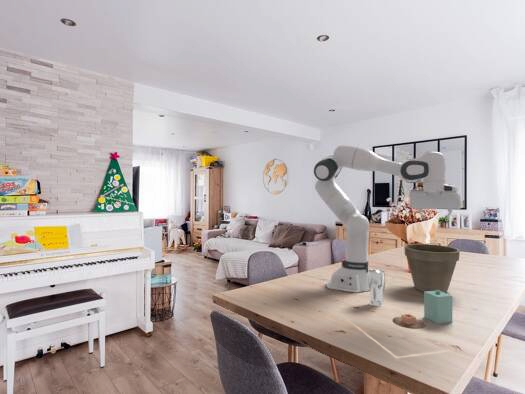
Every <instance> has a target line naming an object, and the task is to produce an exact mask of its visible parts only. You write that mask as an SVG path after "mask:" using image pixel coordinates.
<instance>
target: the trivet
mask: <svg viewBox="0 0 525 394" xmlns="http://www.w3.org/2000/svg"><path fill="white" fill-rule="evenodd" d="M392 322H393V324H395V325H396V326H399V327H401V328H406V329H409V330H410V329H412V330H420V329H423V328H425V327H426V324H425V322H423V321H422V320H420V319H417V318H416V324H409V325H407V324H406V323H404V322H402V316H395V317H393V318H392Z"/></svg>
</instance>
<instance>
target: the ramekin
mask: <svg viewBox="0 0 525 394" xmlns="http://www.w3.org/2000/svg"><path fill="white" fill-rule="evenodd" d="M401 317H402V322H404V323H406V324H407V325H409V324H416V319H417V318H416V316H414V315H413V314H410V313H405V314H401Z"/></svg>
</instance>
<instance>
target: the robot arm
mask: <svg viewBox="0 0 525 394" xmlns="http://www.w3.org/2000/svg"><path fill="white" fill-rule="evenodd" d="M446 167H447V166H446V159H445V155H444V154H443V153H441V152H439V151H426V152H424V153H423V154H421V155H419V156H417V157H416V158H413V159H410V160H407V161H405V162H404V163H403V162H402V163H401V162H397V161H393V160H389V159H385V158H383V157H381V156H379V155H378V154H377V153H376V152H373V151H371V150H369V149H367V148H365V147H359V146H355V145H338V146H337V147H336V148H335V149H334V151H333V154H332V155H329V156H326V157H323V158H322V159H321V160H320V161H318V162H317V163H316V164H315V165H314V168H313V175H314V177H315V178H316V179H317V180H316V182H315V184H314V189H315V191H316V192H317V194H318V196H319V197H320V198H321V200H322V201H323V202H324V203H325V205H326V206H327V207H328V208H329V210H330V211H331V212H332V213H333V214H334V216H336V217H337V219H338V221H339V222H340V223H341V224H342V225H343V226H344V227H345V229H346V231H345V232H346V234H345V235H346V236H345V258H343V259H341V266H340V267H339V268H338V269H337V270H335V271H333V273H332V274H331V278H330V280H329V281H326V288H327V289H331V290H336V291H344V292H349V293H361V292H368V291H370V290H369V284H368V274H369V270H370V266H369V261H368V260H369V259H368V257H369V256H368V252H369V251H368V249H369V248H368V246H369V237H370V235H369V234H370V221H369V219H368V217H367V216H365V215H363V214H362V213H361V212H360V211H359V210H358V208H357V207H356V205H355V204H354V203H353V202H352V200H351V199H350V198H349V197H348V195H347V194H346V193H345V192H344V191H343V189H341V187H340V186H339V185H338V183H337V182H336V180H335V179H336V178H337V177H338V176H339V174H340V172H341V171H342V168H345V169H346V168H347V169H351V170H355V171H362V172H364V171H365V172H379V173H380V172H381V173H385V174H389V175H393V176H397V177H399V178H401V179H402V180H403V181H404V182H406V183H410V184H415V183H419V182H420V181H422V187H421V188H413V189H411V190H410V191H409V198H410V199H409V208H410V209H411V210H414V209H415V210H416V209H417V211H418V213H419V215H420V219H421V220H426V217H427V216H426V214H424V213H423V211H424V210H427V209H429V210H447V212H448V213H447V214H446V215H444V220H445V221H446V220H450V216H451V214H453V210H460V209H462V208H463V201H462V196H461V194H460V193H459V192H458V191H459V186H456V185H452V184H447V180H446V173H447V172H446V171H447V168H446Z"/></svg>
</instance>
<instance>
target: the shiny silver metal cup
mask: <svg viewBox="0 0 525 394" xmlns="http://www.w3.org/2000/svg"><path fill="white" fill-rule="evenodd" d="M368 284H369V290H368V291H369V295H370V297H369V304H368V305H369V306H374V307H384V306H385V303H384V292H385V287H386V275H385V270H382V269H378V268H377V269H376V268H375V269H374V268H372V269H369V271H368Z"/></svg>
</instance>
